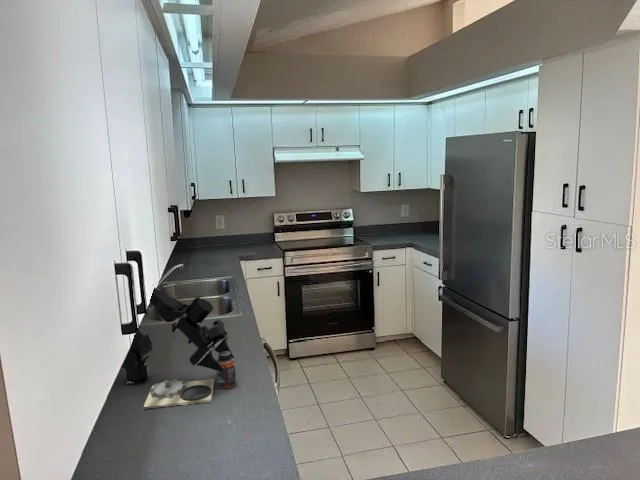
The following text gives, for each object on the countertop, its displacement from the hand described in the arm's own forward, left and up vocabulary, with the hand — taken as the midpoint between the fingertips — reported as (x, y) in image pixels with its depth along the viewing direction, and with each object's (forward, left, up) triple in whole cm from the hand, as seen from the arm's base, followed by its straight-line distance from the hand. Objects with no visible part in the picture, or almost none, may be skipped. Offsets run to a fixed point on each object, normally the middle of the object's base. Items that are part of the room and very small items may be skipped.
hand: (227, 364), depth 158 cm
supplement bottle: (-1, 0, -7) cm, 8 cm away
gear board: (-15, -3, -7) cm, 17 cm away
